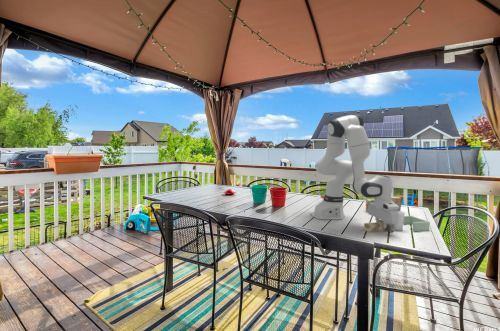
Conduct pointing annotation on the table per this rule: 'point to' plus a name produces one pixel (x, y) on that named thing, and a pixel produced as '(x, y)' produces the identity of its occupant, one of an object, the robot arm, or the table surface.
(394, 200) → the stack of blocks
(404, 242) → the table surface
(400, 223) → the white cup
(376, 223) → the scraper
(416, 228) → the box
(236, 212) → the table surface
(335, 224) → the table surface
